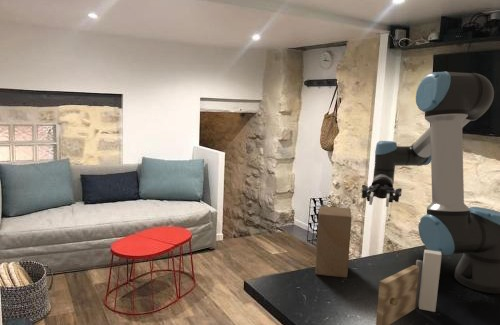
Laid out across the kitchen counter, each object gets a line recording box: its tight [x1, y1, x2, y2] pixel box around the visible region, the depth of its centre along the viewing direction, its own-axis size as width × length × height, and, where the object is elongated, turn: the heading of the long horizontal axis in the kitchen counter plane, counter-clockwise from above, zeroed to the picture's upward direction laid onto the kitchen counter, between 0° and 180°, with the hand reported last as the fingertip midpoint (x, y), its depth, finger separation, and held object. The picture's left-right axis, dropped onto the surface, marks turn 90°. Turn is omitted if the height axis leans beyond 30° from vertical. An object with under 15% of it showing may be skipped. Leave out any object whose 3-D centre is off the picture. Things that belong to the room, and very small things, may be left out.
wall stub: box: [415, 249, 443, 313], centre depth 107 cm, size 6×2×16 cm, turn 70°
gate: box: [375, 264, 419, 325], centre depth 102 cm, size 16×3×12 cm, turn 130°
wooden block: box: [314, 205, 353, 278], centre depth 129 cm, size 10×10×20 cm
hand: (379, 201), depth 125 cm, fingers open, 4 cm apart
